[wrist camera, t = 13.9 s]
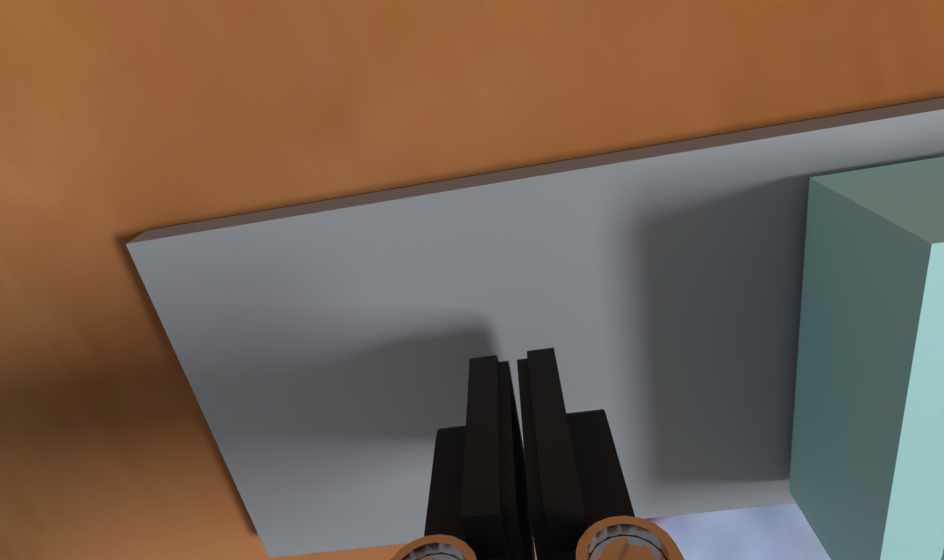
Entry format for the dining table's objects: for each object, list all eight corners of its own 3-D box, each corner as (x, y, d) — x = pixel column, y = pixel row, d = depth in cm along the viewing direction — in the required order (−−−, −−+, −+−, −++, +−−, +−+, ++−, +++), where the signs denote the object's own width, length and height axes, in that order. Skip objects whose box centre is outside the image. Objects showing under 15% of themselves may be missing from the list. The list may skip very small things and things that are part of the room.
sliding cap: (1020, 144, 10) (1233, 200, 7) (949, 473, 13) (1078, 604, 10) (809, 177, 10) (931, 244, 8) (788, 490, 14) (869, 622, 11)
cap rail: (1315, 35, 10) (1765, 51, 7) (1156, 437, 14) (1388, 588, 10) (146, 230, 12) (5, 323, 9) (279, 532, 16) (217, 685, 13)
